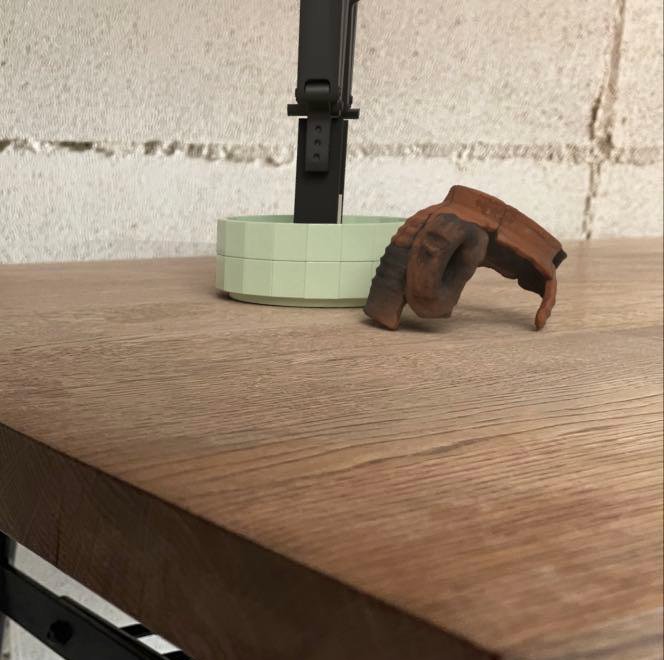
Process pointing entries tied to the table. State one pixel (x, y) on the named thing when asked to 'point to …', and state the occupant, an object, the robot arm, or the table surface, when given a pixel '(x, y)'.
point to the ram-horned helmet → (462, 257)
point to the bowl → (301, 259)
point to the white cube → (339, 209)
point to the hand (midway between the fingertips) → (318, 224)
